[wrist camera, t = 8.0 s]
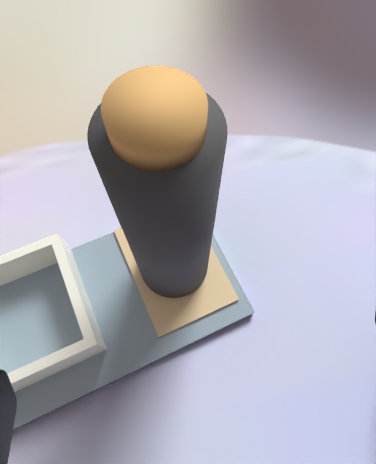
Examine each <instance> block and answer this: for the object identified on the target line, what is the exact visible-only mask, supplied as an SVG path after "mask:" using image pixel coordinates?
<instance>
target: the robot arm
mask: <svg viewBox="0 0 376 464" xmlns="http://www.w3.org/2000/svg"><path fill="white" fill-rule="evenodd" d="M375 323H376V313H375ZM16 410H17V399H16V395H15V392H14V390H13V387H12V385H11V382H10V379H9V377H8V374H7V373H6V371H5V370H2V369H0V464H7V463H8V457H9V451H10V445H11V439H12V433H13V427H14V421H15V416H16Z"/></svg>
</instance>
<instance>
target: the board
mask: <svg viewBox="0 0 376 464" xmlns="http://www.w3.org/2000/svg"><path fill="white" fill-rule="evenodd" d="M253 313H254V310H253V308H252V307H251V305H250V303H249V301H248V299H247V297H246V295H245V294H244V292H243V290H242V288H241V286H240V284H239V282H238V280H237V279H236V277H235V275H234V273H233V271H232V269H231V267H230V266H229V264H228V262H227V260H226V258H225V256H224V254H223V252H222V251H221V249H220V247H219V245H218V243H217V241H216V239H215V238H214V236H213V235H212V242H211V248H210V255H209V262H208V269H207V273H206V276H205V279H204V281H203V282H202V284H201V285H200V286H199V287H198V288H197V289H196V290H195V291H194V292H192V293H190V294H189V295H186V296H183V297H178V298H168V297H164V296H161V295H158V294H156V293H155V292H153V291H152V290H151V289H150V288H149V287H148V286H147V285H146V283H145V282H144V280H143V278H142V276H141V273H140V271H139V268H138V266H137V264H136V261H135V259H134V256H133V254H132V252H131V249H130V247H129V244H128V242H127V239H126V237H125V235H124V232H123V230H122V228H119V229H117V230H114V232H113V233H111V234H108V235H106V236H103V237H101V238H98V239H96V240H93V241H91V242H88V243H86V244H83V245H81V246H78V247H76V248H73V249H70V248H69V246H68V245H67V244H66V243H65V241H64V240H63V239H62V237H61V236H60V235H59V233H57V234H54V235H51V236H49V237H46V238H44V239H41V240H39V241H36V242H34V243H31V244H28V245H26V246H23V247H21V248H18V249H16V250H13V251H10V252H8V253H5V254H3V255H0V369H2V370H5V371H6V373H7V374H8V377H9V379H10V382H11V385H12V387H13V390H14V392H15V395H16V399H17V410H16V416H15V421H14V427H13V430H14V429H16V428H18V427H20V426H22V425H24V424H26V423H28V422H30V421H32V420H34V419H37V418H39V417H41V416H43V415H45V414H47V413H49V412H51V411H53V410H55V409H57V408H59V407H61V406H63V405H66V404H68V403H70V402H72V401H74V400H76V399H78V398H80V397H82V396H84V395H86V394H88V393H90V392H92V391H94V390H97V389H99V388H101V387H103V386H105V385H107V384H109V383H111V382H113V381H115V380H117V379H119V378H121V377H123V376H126V375H128V374H130V373H132V372H134V371H136V370H138V369H140V368H142V367H144V366H146V365H148V364H150V363H152V362H154V361H157V360H159V359H161V358H163V357H165V356H167V355H169V354H171V353H173V352H175V351H177V350H179V349H181V348H183V347H186V346H188V345H190V344H192V343H194V342H196V341H198V340H200V339H202V338H204V337H206V336H208V335H210V334H212V333H214V332H217V331H219V330H221V329H223V328H225V327H227V326H229V325H231V324H233V323H235V322H237V321H239V320H241V319H243V318H246V317H248V316H250V315H252V314H253Z"/></svg>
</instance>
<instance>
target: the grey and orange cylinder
mask: <svg viewBox="0 0 376 464" xmlns="http://www.w3.org/2000/svg"><path fill="white" fill-rule="evenodd" d="M226 141H227V124H226V119H225V117H224V114H223V112H222V110H221V108H220V107H219V105H218V104H217V103H216V101H215V100H214V99H213V98H212V97H211V96H210V95H208V94H207V93H206V92H205V91H204V89H203V87H202V86H201V84H200V83H199V82H198V81H197V80H196V79H195V78H194V77H192V76H191V75H189V74H188V73H186V72H184V71H182V70H179V69H176V68H173V67H167V66H146V67H141V68H137V69H134V70H131V71H129V72H127V73H125V74H123V75H121V76H120V77H119V78H117V79H116V80H115V81H114V82H113V83H112V84H111V85H110V86H109V87H108V89H107V90H106V92H105V94H104V96H103V99H102V102H101V104H100V105H99V106H98V107H97V109H96V111H95V112H94V114H93V116H92V118H91V120H90V124H89V127H88V145H89V149H90V152H91V155H92V157H93V160H94V162H95V165H96V167H97V169H98V172H99V174H100V177H101V179H102V182H103V184H104V186H105V189H106V191H107V194H108V196H109V198H110V201H111V203H112V206H113V208H114V210H115V213H116V215H117V218H118V220H119V223H120V225H121V227H122V230H123V232H124V235H125V237H126V239H127V242H128V244H129V247H130V249H131V252H132V254H133V256H134V259H135V261H136V264H137V266H138V268H139V271H140V273H141V276H142V278H143V280H144V282H145V283H146V285H147V286H148V287H149V288H150V289H151V290H152V291H153V292H155V293H156V294H158V295H161V296H164V297H168V298H178V297H183V296H186V295H189V294H190V293H192V292H194V291H195V290H196V289H197V288H198V287H199V286H200V285H201V284H202V282H203V281H204V279H205V276H206V273H207V269H208V262H209V255H210V248H211V242H212V235H213V228H214V222H215V215H216V208H217V202H218V195H219V188H220V182H221V175H222V168H223V161H224V155H225V148H226Z"/></svg>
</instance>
